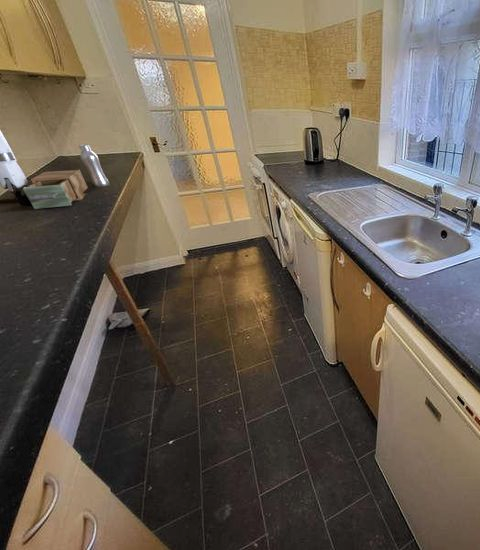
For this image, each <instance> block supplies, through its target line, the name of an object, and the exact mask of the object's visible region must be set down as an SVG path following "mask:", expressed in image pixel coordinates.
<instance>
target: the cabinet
mask: <svg viewBox="0 0 480 550" xmlns="http://www.w3.org/2000/svg"><path fill="white" fill-rule="evenodd" d="M57 179H69V180H70V182H71V184H72V186H73V188H74V190H75V192H76V194H77V197H76V198H75V199H74V200H73V201H81V200H83V199H84V198H85V197H86V196H87V195H88V194H89V192H86V190H87V189H88V188H89V186H88V184H87V183H86V180H85V178H84V176H83V174H82V172H81V170H80V169H73V170H72V169H71V170H56V171H43V172H41V173H39V174H38V175H36V176H35V177H32V178H31V179H30V180H31V182H32V184H34V183H35V182H37V181H44V180H57ZM86 194H87V195H86ZM85 195H86V196H85ZM84 196H85V197H84Z"/></svg>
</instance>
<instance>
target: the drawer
mask: <svg viewBox="0 0 480 550" xmlns="http://www.w3.org/2000/svg"><path fill="white" fill-rule="evenodd" d="M23 190H24V192H25V194H26V195H27V197H28V199H29V200H30V202H31V205H32V207H33V209H34V210H38V209H39V210H40V209H49V208H59V207H69V206H72V205H73V203H72V202H73V201H75V200H74V199H75V198H76V197H77V194H76V192H75V190H74V188H73V186H72V184H71V182H70V180H69V179H57V180H44V181H37V182H35V183H34V184H33V183H32V184H30V185H28V186H27V187H24V188H23Z"/></svg>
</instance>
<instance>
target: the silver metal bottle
mask: <svg viewBox="0 0 480 550" xmlns="http://www.w3.org/2000/svg"><path fill="white" fill-rule="evenodd" d="M78 147H79V150H80V160H81V161H82V163H83V164H84V166H85V167H86V169H87V171H88V174H89V176H90V180H91V183H92V185H93V186H94V187H96V188H98V187H99V188H103V187H108V186H110V180H108V178H107V176H106V174H105V173H104V171H103V169H102V166H101V163H100V159H99V157H98V155H97V154H96V153H95V152H94V151H93V150H91V147H90V145H89V144H79V145H78Z"/></svg>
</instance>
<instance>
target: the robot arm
mask: <svg viewBox="0 0 480 550" xmlns="http://www.w3.org/2000/svg"><path fill="white" fill-rule="evenodd" d="M28 183H29V181H28V179H27V177H26V175H25V173H24V171H23V169H22V168H21V167H20V165H19V164H18V159H17V158H16V156H15V153H14V152H13V150H12V149H11V146H10V145H9V143H8V141H7V139H6V137H5V136H4V134H3V132H2V130H1V129H0V186H1V188H2V189H3V190H8V192H9V193H11V194H12V195H13V197H15V199H16V201H17V202H18V204H19V206H22V207H23V206H30V205H32V204H31V203H30V201H29V199H28V197H27V196H26V195H24V192H23V191H22V190H23V188H24V187H28ZM18 190H19V191H18Z"/></svg>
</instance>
